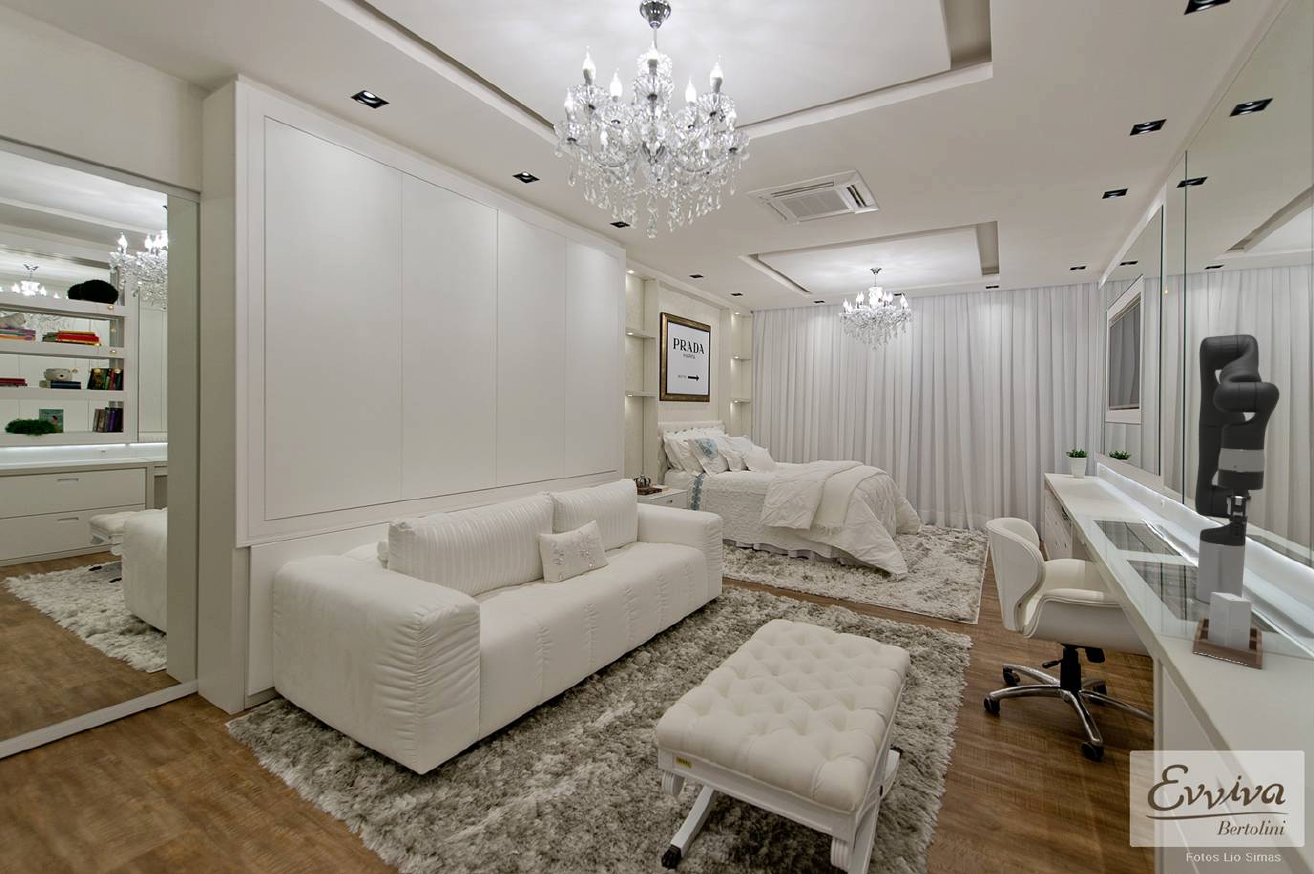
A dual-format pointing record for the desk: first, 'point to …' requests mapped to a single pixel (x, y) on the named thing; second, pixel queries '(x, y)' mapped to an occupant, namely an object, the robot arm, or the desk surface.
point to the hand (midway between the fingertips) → (1236, 535)
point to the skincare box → (1229, 620)
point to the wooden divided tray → (1233, 654)
